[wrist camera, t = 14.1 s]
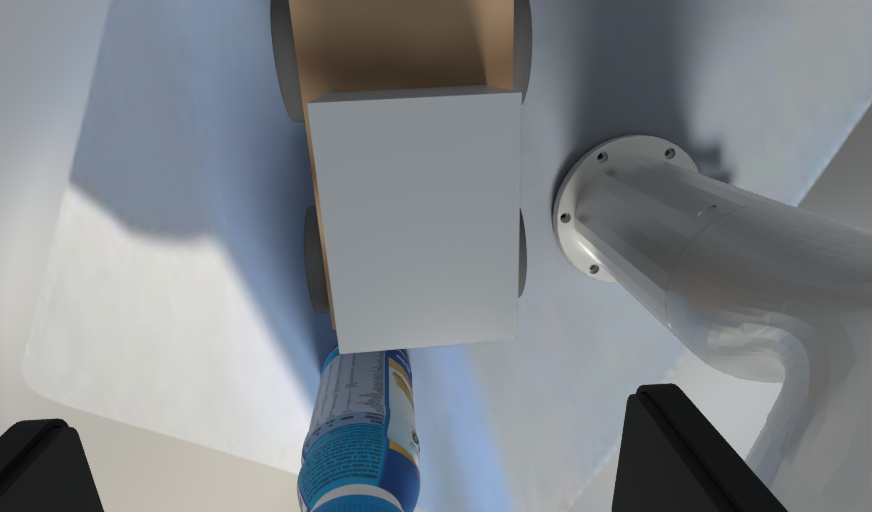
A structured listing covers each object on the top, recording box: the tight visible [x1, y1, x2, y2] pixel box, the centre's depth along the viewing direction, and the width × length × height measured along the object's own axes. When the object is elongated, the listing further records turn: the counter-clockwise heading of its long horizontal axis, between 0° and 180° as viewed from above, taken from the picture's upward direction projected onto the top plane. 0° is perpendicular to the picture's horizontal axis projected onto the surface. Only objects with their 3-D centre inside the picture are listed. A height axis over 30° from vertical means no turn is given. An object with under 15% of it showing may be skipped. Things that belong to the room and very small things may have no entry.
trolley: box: [270, 0, 532, 354], centre depth 31 cm, size 22×15×18 cm
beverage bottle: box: [297, 346, 420, 512], centre depth 37 cm, size 8×8×20 cm
